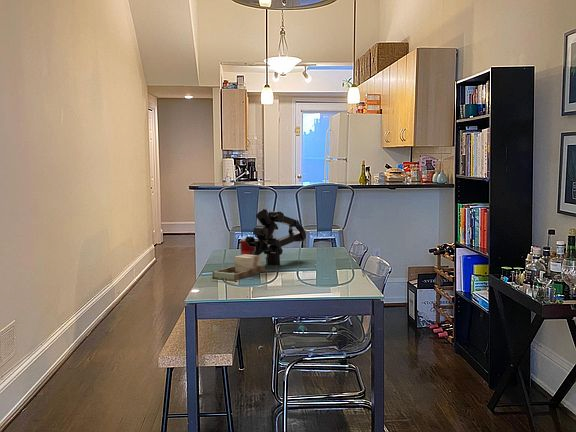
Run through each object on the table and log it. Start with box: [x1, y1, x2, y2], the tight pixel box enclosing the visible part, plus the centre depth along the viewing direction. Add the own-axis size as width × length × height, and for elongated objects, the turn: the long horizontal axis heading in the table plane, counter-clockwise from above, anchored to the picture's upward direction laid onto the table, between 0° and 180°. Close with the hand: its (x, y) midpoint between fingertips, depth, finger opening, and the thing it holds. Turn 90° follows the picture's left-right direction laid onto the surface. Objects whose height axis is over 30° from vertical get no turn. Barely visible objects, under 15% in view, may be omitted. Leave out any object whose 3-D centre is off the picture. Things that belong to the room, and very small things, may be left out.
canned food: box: [240, 237, 255, 255], centre depth 320 cm, size 8×8×11 cm
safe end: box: [213, 272, 235, 283], centre depth 267 cm, size 10×14×4 cm
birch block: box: [234, 254, 262, 272], centre depth 278 cm, size 8×10×8 cm
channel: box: [212, 265, 266, 283], centre depth 273 cm, size 23×14×4 cm, turn 146°
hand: (255, 256), depth 283 cm, fingers closed
